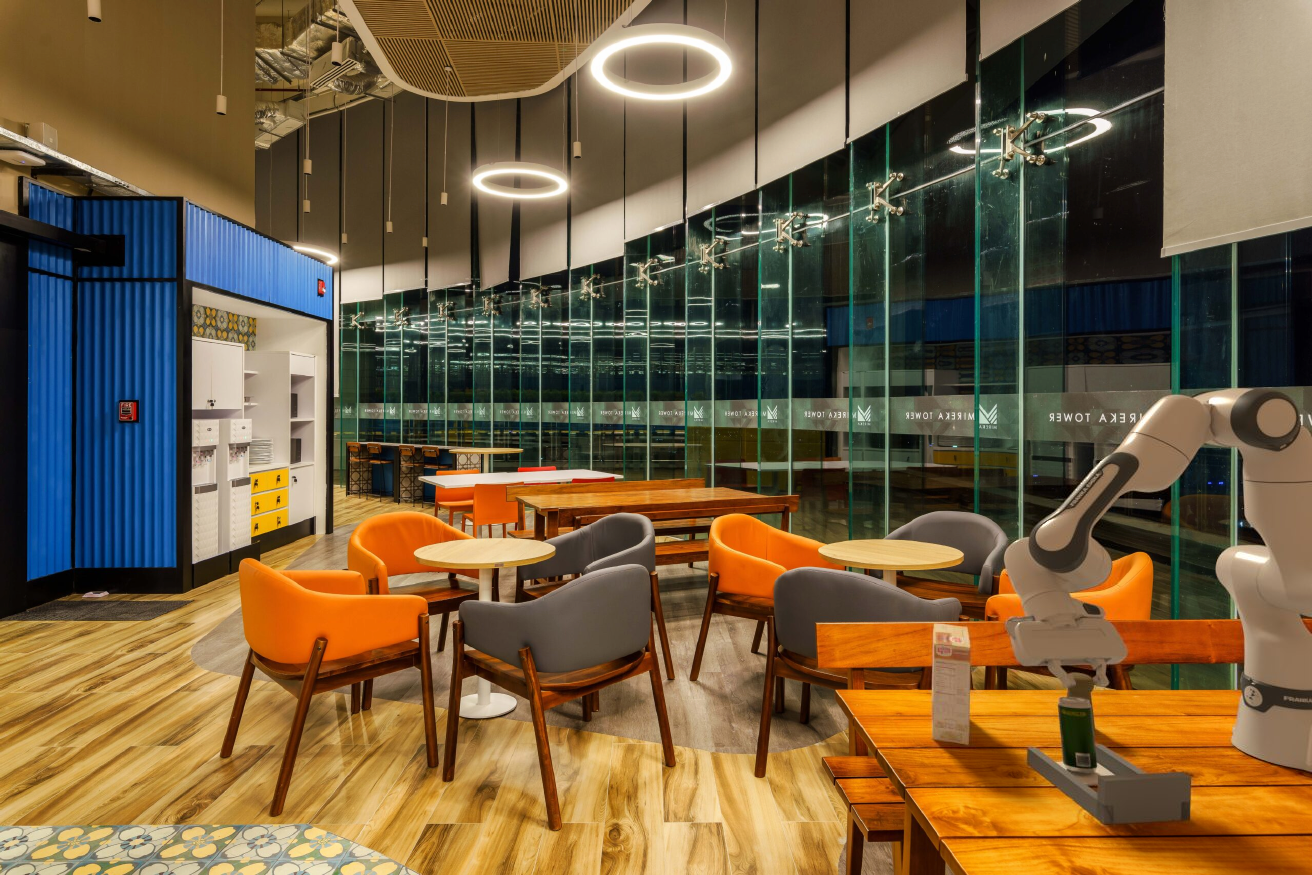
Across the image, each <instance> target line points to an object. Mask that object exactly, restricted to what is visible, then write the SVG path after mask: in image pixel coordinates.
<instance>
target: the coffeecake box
mask: <svg viewBox="0 0 1312 875" xmlns="http://www.w3.org/2000/svg"><path fill="white" fill-rule="evenodd" d="M971 647H972V646H971V641H970V634H969V630H968V626H960V625H952V624H946V623H933V631H932V656H931V657H932V664H931V666H932V667H931V670H932V671H931V672H932V673H931V733H932V734H931V736H932V737H931V738H932V740H934V741H940V742H947V743H954V744H960V745H966V746H969V745H970V718H971V716H970V714H971V713H970V711H971V710H970V708H971V704H970V703H971V655H972V654H971V649H972V648H971Z"/></svg>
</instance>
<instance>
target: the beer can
mask: <svg viewBox="0 0 1312 875" xmlns="http://www.w3.org/2000/svg"><path fill="white" fill-rule="evenodd" d="M1057 710H1058V711H1057V712H1058V719H1059V720H1058V722H1059V723H1058V724H1059V733H1060V742H1061V745H1060V746H1061V753H1062V754H1061V756H1062V762H1063V764H1064V766H1065V767H1066V768H1067V769H1069V770H1072V771H1076V772H1083V773H1092V772H1095V771H1096V769H1097V759H1096V748H1095V745H1096V740H1095V732H1094V728H1093V718H1092V708H1091V705H1090V703H1089V700H1087V699H1084V698H1077V697H1067V696H1061V697H1058V702H1057Z"/></svg>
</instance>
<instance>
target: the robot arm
mask: <svg viewBox="0 0 1312 875" xmlns="http://www.w3.org/2000/svg"><path fill="white" fill-rule="evenodd" d="M1297 406H1298V405H1296V402H1295V401H1294V400H1293V399H1292V398H1291V397H1290V396H1289V395H1287V394H1286V393H1284V392H1281V391H1278V390H1275V389H1269V388H1262V387H1261V388H1255V389H1254V388H1245V387H1244V388H1240V387H1238V388H1234V387H1233V388H1226V389H1222V390H1216V391H1215V390H1214V391H1211V390H1210V391H1207V390H1206V391H1201V392H1197V393H1194V394H1192V395H1190V396H1189V395H1183V394H1170V395H1166V396H1164V397H1163V396H1162V397H1161V398H1160V399H1159V400H1158V401H1157V402H1156V403H1154V404H1153V405H1152V406H1151V407H1150V408H1149V409H1148V410H1147V411H1146V412H1145V413H1144V414H1143V416H1142V417H1140V419H1139V420H1138V421H1137V422H1136V424H1134V426H1133V428H1131V430H1130V432H1129V433H1128V434H1127V435H1126V437H1125V438H1124V440H1123V441H1122V442H1121V444H1120V445H1119V446H1118V447H1117V448H1116V449H1115V450H1114V451H1113V452H1112V453H1111V454H1109V455H1107V456H1105V457H1104V458H1103V459H1102V460H1101V461H1099V463H1097V464H1096V466H1094V467H1093V468H1092V469H1091V471H1090V472H1089V473H1088V474H1087V476H1085V478H1083V479H1082V481H1081V482H1080V484H1079V485H1077V487H1076V488H1075V489H1074V490H1073V492H1071V494H1070V495H1069V496H1068V497H1067V498H1066V499H1065V501H1064V502H1063V503H1062V504H1061V505H1060V506H1059V507H1058V508H1057V509H1056V510H1055V511H1054V512H1051V514H1049V515H1047V516H1046V517H1045V518H1043V519H1042V520H1040V521H1039V522H1037V524H1036V525H1035V526H1034V527H1033V529H1032V530H1031V532H1030V533H1029V536H1026V537H1022V538H1019V539H1017V540H1016V541H1014V542H1012V543H1011V544H1009V546H1008V547H1007V548H1006V550H1005V552H1004V555H1003V562H1004V567H1005V571H1006V573H1007V576H1008V578H1009V581H1010V584H1011V586H1012V588H1013V590H1014V592H1015V593H1016V594H1017V595H1018V596H1019V599H1020V602H1021V608H1022V611H1023V612H1024V615H1025V616H1010V617H1009V618H1008V619H1006V621H1005V624H1004V626H1005V629H1006V631H1007V634H1008V636H1009V639H1010V642H1011V647H1012V651H1013V654H1014V656H1015V658H1016V661H1017V662H1018V663H1019V664H1021V666H1024V667H1033V666H1034V667H1039V666H1040V667H1042V666H1047V668H1048V671H1049V672H1051V673H1052V674H1053V675H1054V676H1055V677H1056V678H1057V679H1058V680H1060V683H1061V685H1062V686H1063V688H1066V689H1068V688H1072V687H1073V686H1075V685H1076V682H1075V680H1074V678H1073V676H1072V675H1068V674H1069V673H1067V672H1066V671H1065V669H1064V668H1062V666H1080V665H1081V666H1082V665H1083V666H1085V665H1090V666H1091V668H1092V670H1096V671H1095V672H1096V674H1095V676H1093V677H1091V678H1092V680H1093V681H1094V686H1096V687H1098V688H1099V687H1101V688H1105V687H1107V686H1108V685H1109V684H1110V681H1109V679H1108V677H1107V675H1106V672H1107V665H1117V664H1118V665H1119V664H1121V662H1122V661H1123V660H1125V659H1126V658H1127V656H1128V647H1127V646H1126V644H1125V642H1124V640H1123V638H1122V637H1121V635H1120V633H1119V632H1118V630H1117V629H1116V627H1115V626H1114V625H1113V624H1112V622H1111V621H1109V620H1108V619H1106V618H1105V617H1106V616H1107V614H1106V611H1105V609H1104V608H1103V607H1102V606H1101V605H1097V604H1094V603H1093V604H1092V603H1090V602H1086V601H1083V600H1079V599H1077V598H1073V597H1072V595H1071V594H1072V593H1073V594H1074V593H1079V592H1082V591H1086V590H1091V589H1093V588H1096V587H1098V586H1101V585H1103V583H1105V582H1107V580H1108V578H1110V575H1111V573H1112V570H1113V560H1112V557H1111V555H1110V553H1109V551H1108V550H1107V549H1105V548H1104V547H1103V545H1101V544H1100V543H1099V542H1098V541H1097V540H1096V539H1094V538H1093V537H1092V531H1093V529H1094V526H1095V525H1096V523H1097V522H1098V521H1099V520H1100V519H1101V518H1102V517H1103V516H1104V514H1105V513H1106V512H1107V511H1108V510H1109V509H1110V508H1111V506H1112V505H1113V504H1114V503H1115V502H1116V501H1117V499H1118V498H1119V497H1120V496H1122V495H1124V494H1126V493H1129V492H1130V491H1131V492H1132V491H1134V492H1135V491H1136V492H1143V493H1154V492H1159V491H1160V492H1161V491H1163V490H1166V489H1168V488H1169V487H1170V486H1172V485H1173V484H1174V483H1175V482H1176V481H1177V480H1178V479H1179V478H1180V477H1181V475H1182V474H1183V473H1184V471H1185V470H1186V469H1187V467H1188V466H1189V465H1190V463H1191V461H1192V460H1193V459H1194V457H1195V456H1196V454H1197V452H1198V450H1199V449H1201V447H1202V446H1204V445H1207V446H1208V445H1212V446H1217V447H1224V448H1237V449H1238V451H1239V452H1240V454H1241V456H1242V459H1243V461H1242V484H1243V486H1242V487H1243V488H1242V489H1243V505H1244V517H1245V519H1246V521H1247V522H1248V524H1249V525H1250V526H1251V527H1252V528H1253V529H1254V530H1255V531H1256V532H1257V533H1258V534H1259V535H1260V537H1261V538H1262V541H1263V542H1264V544H1265V545H1259V544H1258V545H1257V544H1254V545H1253V544H1246V545H1245V544H1244V545H1243V544H1242V545H1241V544H1240V545H1233V546H1230V547H1227V548H1226V549H1225V550H1224V551H1222V552H1221V554H1219V556H1218V558H1217V561H1216V564H1215V575H1216V577H1217V579H1218V581H1219V582H1220V583H1221V585H1222V586H1223V587H1224V588H1225V589H1226V591H1227V592H1228V593H1229V595H1230V596H1231V599H1232V600H1233V602H1234V605H1235V607H1236V610H1237V612H1238V616H1239V618H1240V622H1241V626H1242V629H1243V636H1244V642H1243V644H1244V663H1243V664H1244V667H1243V668H1244V670H1243V671H1242V672H1241V675H1240V691H1241V696H1240V697H1239V703H1238V708H1237V715H1236V721H1235V725H1234V726H1232V730H1231V733H1232V735H1231V738H1230V743H1231V744H1232V745H1233V746H1234V747H1235V748H1237V749H1238V750H1240V751H1242V752H1243V753H1246V754H1248V755H1250V756H1253V757H1254V758H1257V759H1260V760H1263V761H1266V762H1269V763H1272V764H1275V765H1280V766H1284V767H1287V768H1288V767H1289V768H1293V769H1297V770H1298V769H1299V770H1304V771H1306V772H1310V773H1312V633H1311V632H1310V631H1309V630H1308V628H1307V626H1306V625H1305V623H1304V622H1303V619H1302V617H1301V615H1302V616H1305V617H1309V618H1312V434H1311V432H1310V430H1308V428H1306V427H1305V426H1304V425H1302V422H1301V415H1300V411H1299V408H1298V407H1297Z"/></svg>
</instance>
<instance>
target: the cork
mask: <svg viewBox="0 0 1312 875" xmlns="http://www.w3.org/2000/svg"><path fill="white" fill-rule="evenodd" d="M1067 674H1068V675H1072V676H1073V678H1074V680H1075V682H1076V685H1075V686H1073V687H1072V688H1067V692H1066V697H1077V698H1084V699H1087V700H1089V703H1090V705H1091V708H1092V718H1093V728H1094V733H1095V732H1096V725H1095V717H1094V716H1095V715H1094V707H1093V699H1092V692H1093V691H1094V689H1095V682H1094V681H1093V679H1092V678H1093V677H1091V676H1089V675H1088V674H1085V673H1080V672H1070V673H1067Z"/></svg>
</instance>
